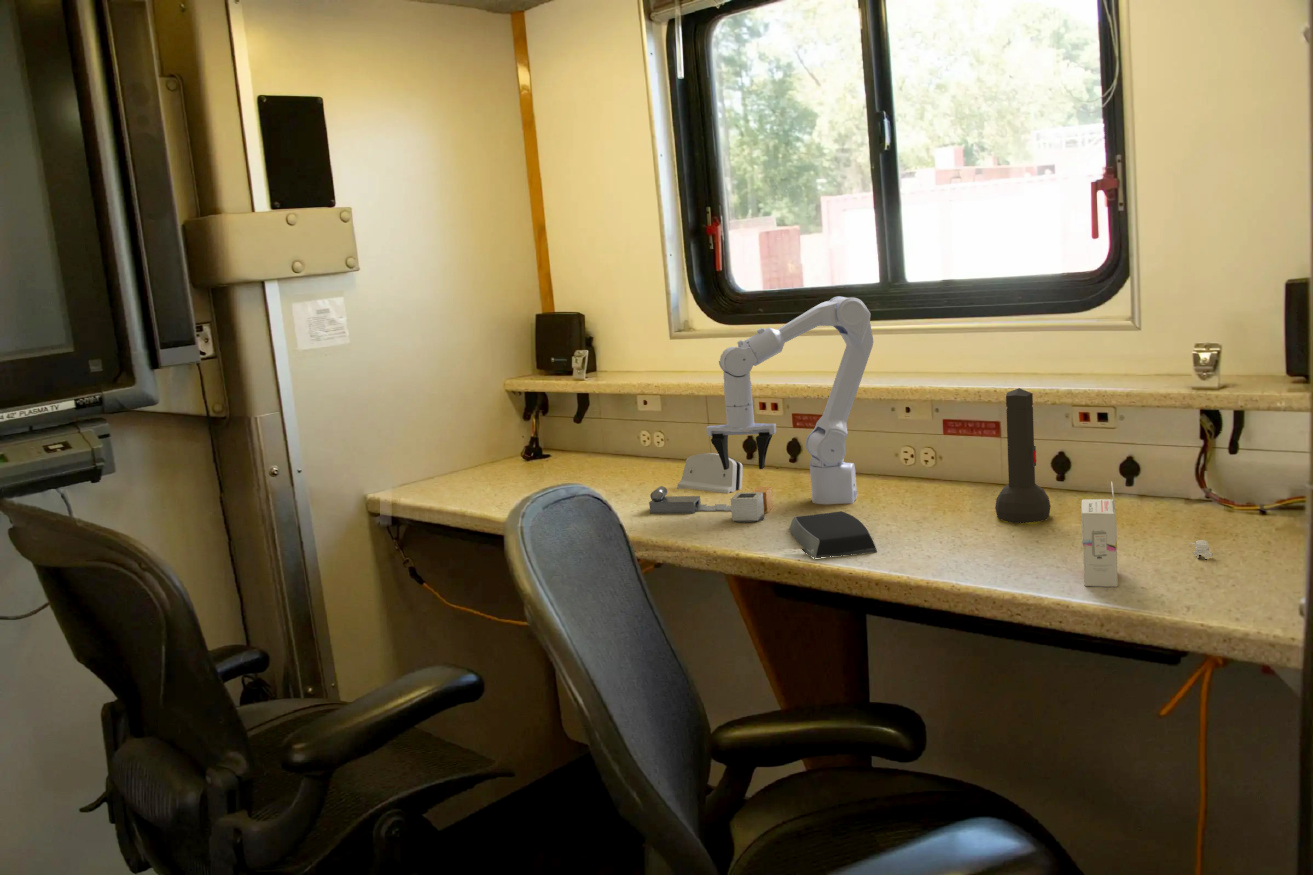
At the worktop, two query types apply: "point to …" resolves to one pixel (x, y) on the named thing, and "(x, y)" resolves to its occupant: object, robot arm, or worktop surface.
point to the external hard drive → (831, 535)
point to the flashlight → (1021, 465)
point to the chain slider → (703, 507)
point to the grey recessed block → (747, 506)
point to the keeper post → (751, 520)
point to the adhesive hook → (1202, 548)
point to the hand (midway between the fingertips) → (744, 468)
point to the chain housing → (672, 503)
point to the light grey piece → (711, 474)
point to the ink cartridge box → (1099, 541)
